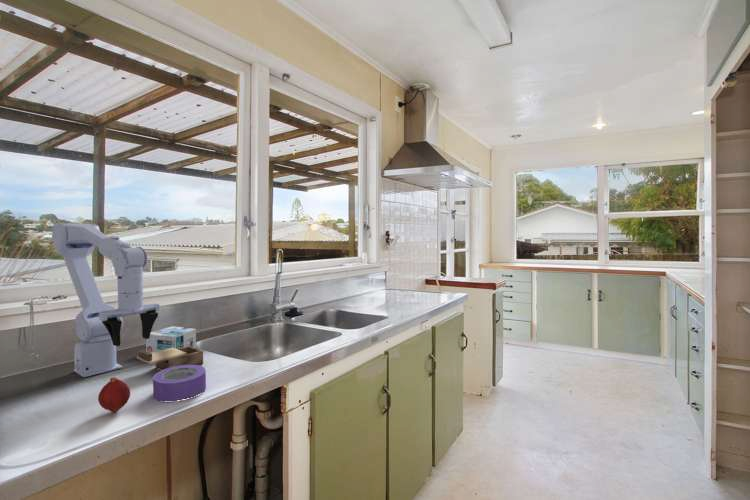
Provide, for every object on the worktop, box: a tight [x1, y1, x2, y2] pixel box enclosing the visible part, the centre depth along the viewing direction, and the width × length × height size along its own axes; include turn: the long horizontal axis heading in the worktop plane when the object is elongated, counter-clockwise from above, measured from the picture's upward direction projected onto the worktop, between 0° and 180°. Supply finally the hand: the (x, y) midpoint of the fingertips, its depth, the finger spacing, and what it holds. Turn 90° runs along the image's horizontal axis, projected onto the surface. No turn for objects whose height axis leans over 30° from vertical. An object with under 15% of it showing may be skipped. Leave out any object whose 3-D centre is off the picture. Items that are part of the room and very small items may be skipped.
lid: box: [136, 348, 187, 365], centre depth 108 cm, size 10×8×2 cm
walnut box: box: [155, 346, 204, 371], centre depth 113 cm, size 10×8×4 cm
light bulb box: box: [145, 325, 197, 353], centre depth 126 cm, size 11×7×11 cm
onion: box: [97, 376, 131, 413], centre depth 84 cm, size 6×6×8 cm
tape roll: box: [152, 365, 207, 403], centre depth 95 cm, size 12×12×5 cm
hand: (131, 341), depth 103 cm, fingers open, 7 cm apart
